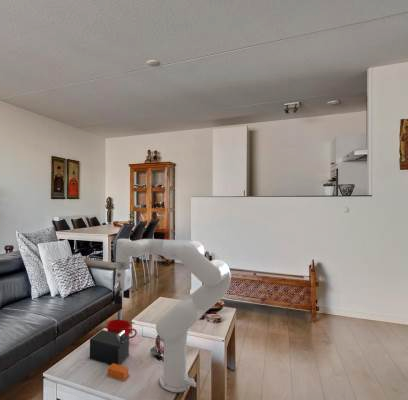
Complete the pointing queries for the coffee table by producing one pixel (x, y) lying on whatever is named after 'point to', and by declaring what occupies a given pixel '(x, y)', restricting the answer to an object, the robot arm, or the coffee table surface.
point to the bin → (108, 353)
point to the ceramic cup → (120, 327)
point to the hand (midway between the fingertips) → (122, 300)
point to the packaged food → (154, 351)
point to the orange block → (118, 371)
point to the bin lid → (111, 338)
